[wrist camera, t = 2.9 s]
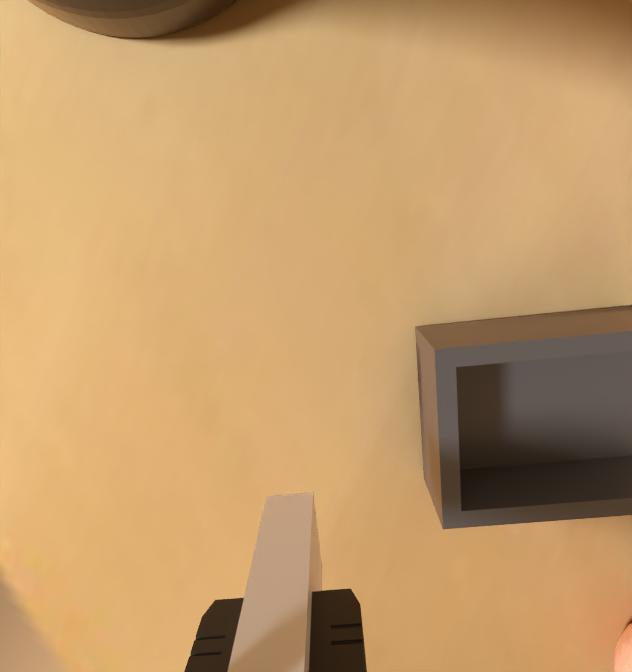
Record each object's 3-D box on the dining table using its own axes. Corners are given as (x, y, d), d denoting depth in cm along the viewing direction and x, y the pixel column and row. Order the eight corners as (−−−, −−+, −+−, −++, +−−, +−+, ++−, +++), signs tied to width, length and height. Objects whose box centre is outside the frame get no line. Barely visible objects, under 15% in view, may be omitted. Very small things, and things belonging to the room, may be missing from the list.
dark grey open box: (415, 326, 21) (434, 349, 18) (633, 305, 21) (703, 323, 17) (423, 478, 23) (443, 529, 20) (624, 461, 23) (685, 510, 19)
